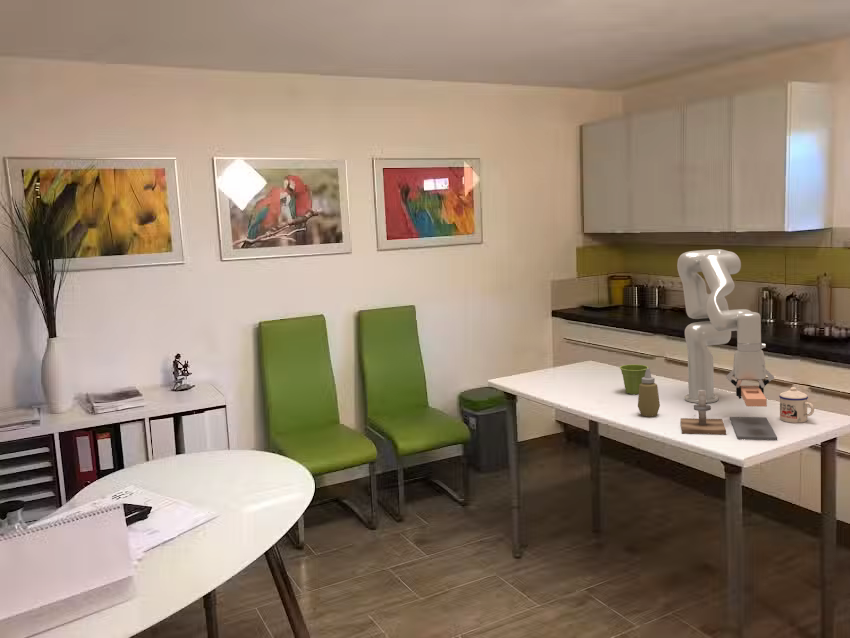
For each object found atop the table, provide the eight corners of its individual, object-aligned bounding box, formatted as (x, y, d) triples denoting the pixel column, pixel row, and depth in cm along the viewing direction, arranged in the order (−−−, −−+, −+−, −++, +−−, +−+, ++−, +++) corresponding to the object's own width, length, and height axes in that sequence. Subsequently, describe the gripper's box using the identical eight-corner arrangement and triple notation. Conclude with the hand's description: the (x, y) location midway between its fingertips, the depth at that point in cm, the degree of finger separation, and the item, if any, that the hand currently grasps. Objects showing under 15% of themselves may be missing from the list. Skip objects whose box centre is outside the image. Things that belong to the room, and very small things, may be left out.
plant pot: (620, 396, 300) (620, 370, 299) (620, 389, 312) (619, 364, 310) (650, 396, 298) (649, 369, 296) (648, 389, 309) (647, 364, 307)
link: (739, 392, 253) (739, 385, 253) (758, 392, 251) (757, 385, 251) (746, 406, 234) (746, 398, 234) (766, 406, 232) (766, 399, 232)
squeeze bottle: (661, 417, 265) (660, 370, 263) (639, 418, 267) (637, 371, 264) (658, 412, 273) (657, 366, 271) (637, 412, 275) (635, 366, 272)
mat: (729, 419, 257) (729, 416, 257) (766, 419, 254) (766, 417, 254) (737, 439, 235) (737, 436, 235) (777, 440, 231) (777, 437, 231)
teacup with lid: (773, 419, 254) (773, 387, 252) (789, 414, 258) (789, 383, 256) (805, 426, 243) (805, 393, 242) (821, 421, 248) (821, 389, 246)
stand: (680, 422, 258) (679, 386, 256) (722, 423, 254) (721, 386, 252) (682, 433, 245) (681, 395, 243) (726, 434, 240) (725, 395, 239)
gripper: (774, 345, 248) (775, 395, 250) (721, 346, 253) (722, 395, 256) (778, 348, 241) (778, 400, 243) (723, 349, 246) (724, 400, 248)
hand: (749, 397), depth 249 cm, fingers closed on link, 5 cm apart
